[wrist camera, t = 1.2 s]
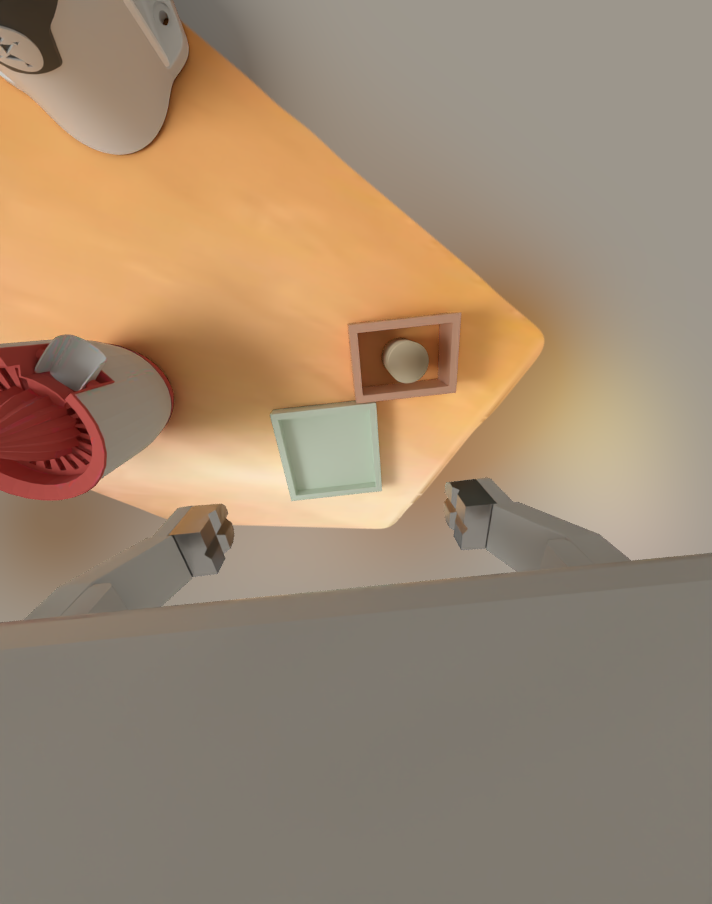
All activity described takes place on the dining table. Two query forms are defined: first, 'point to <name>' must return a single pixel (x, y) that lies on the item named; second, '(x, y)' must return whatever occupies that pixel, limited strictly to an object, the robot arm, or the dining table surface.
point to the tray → (329, 449)
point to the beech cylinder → (405, 360)
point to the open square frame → (442, 385)
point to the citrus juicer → (74, 413)
